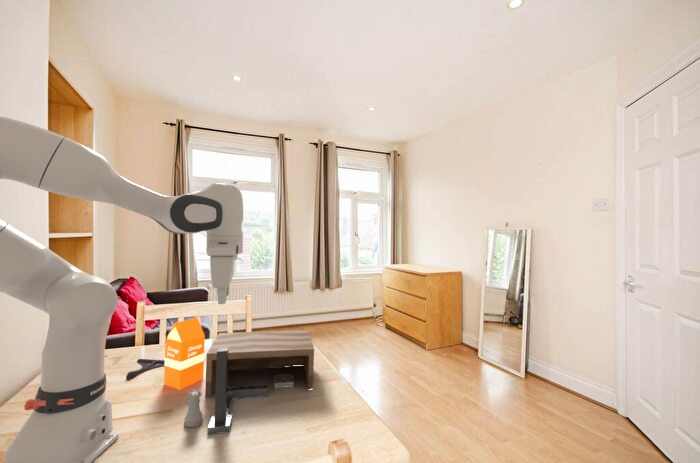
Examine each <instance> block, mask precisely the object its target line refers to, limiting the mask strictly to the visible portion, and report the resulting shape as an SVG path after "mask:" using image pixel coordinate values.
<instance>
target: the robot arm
mask: <svg viewBox="0 0 700 463" xmlns="http://www.w3.org/2000/svg"><path fill="white" fill-rule="evenodd" d="M0 179H3V180H8V181H9V180H10V181H15V182H19V183H21V184H24V185H27V186H31V187H33V188H36V189H40V190H43V191H45V192H47V193H48V192H49V193H52V194H54V195H55V194H56V195H60V196H64V197H67V198H73V199H78V200H84V201H90V202H98V203H99V202H100V203H106V204H110V205H114V206H118V207H121V208H123V209H126V210H129V211H132V212H134V213H137V214H140V215H143V216H145V217H147V218H150V219H152V220H154V222H156V223H157V224H158V225H159V226H161V227H162V228H163V229H164V230H166V231H167V232H169V233H171V234H176V235H183V234H184V235H185V234H188V235H189V234H197V233H200V232H206V250H205V251H206V252H205V253H206V254H207V256H208V257H209V261H210V266H209V267H210V276H211V277H210V279H211V286H212V288H213V289H216V291H217V292H216V293H217V303H218V305H225V304H226V302H227V297H228V296H230V285H231V282H232V280H233V277H234V272H235V271H234V269H235V261H237V260H238V255H239V254H243V252H244V251H243V248H244V247H243V245H244V233H243V229H242V225H243V221H244V199H243V195H242V192H241V190H240V189H238V188H237V187H236V186H233V185H231V184H228V183H222V182H212V183H211V184H210V185H209V186H207V187H204V188H202V189H198V190H196V191H192V192H189V193H184V194H181V195H174V196H169V195H164V194H160V193H158V192H155V191H153V190H150V189H148V188H145V187H144V186H140V185H139V184H137V183H133V182H132V181H130V180H128V179H126V178H125V177H123V176H121V175H120V174H119V173H118V172H117V171H116V170H115V169H114V168H113V167H112V165H111V164H110V163H109V161H108V159H106V158H105V157H104V156H103V155H101V154H99V153H98V152H96V151H94V150H93V149H92V148H89V147H88V146H85V145H83V144H82V143H80V142H78V141H77V140H73V139H71V138H69V137H66V136H65V135H62V134H58V133H56V132H55V131H54V132H53V131H51V130H49V129H46V128H42V127H40V126H36V125H34V124H30V123H28V122H23V121H21V120H18V119H13V118H9V117H6V116H0ZM0 293H3V294H5V295H8V296H10V297H12V298H14V299H16V300H18V301H21V302H23V303H25V304H27V305H29V306H32V307H33V308H36V309H38V310H40V311H42V312H44V313H46V314H48V316H49V320H48V321H49V323H48V324H49V325H48V330H47V335H46V339H45V343H44V347H43V349H42V352H41V366H40V367H41V372H40V385H39V387H38V389H37V392H36V394H35V397H34V398H32V399H31V398H30V399H27V401H25V404H24V407H23V408H24V410H25V411H32V412H31V414H30V415H29V416H28V419H27V420H26V421H25V422H24V424H23V426H22V427H21V428H20V429H19V432H18V433H17V435H16V436H15V437H14V439H13V440H12V442H11V444H10V445H9V447H8V448H7V449H6V452H5V454H4V460H3V463H92V462H93V461H94V460H96V458H98V457H99V456H100V455H101V454H102V453H103V452H104V451H106V450H107V449H108V448H109V447H110V446H111V445H112V444H113V443H115V441H117V440H118V439H119V437H120V436H119V432H118V430H115V429H114V428H113V427H114V426H113V412H112V411H113V410H112V402H111V401H110V400H109V399H108V397H107V396H106V394H105V392H106V389H107V375H106V373H105V356H106V355H105V354H106V350H105V349H106V342H107V335H108V332H109V329H110V324H111V320H112V316H113V315H114V313H115V311H116V309H117V307H118V303H119V296H118V293H117V292H116V289H115V288H114V287H113V285H112V284H111V283H110V282H109V281H108V280H106V279H104V278H102V277H99V276H95V275H92V274H90V273H87V272H85V271H83V270H81V269H80V268H78V267H76V266H75V265H73V264H72V263H70V262H68V261H67V260H66V259H65V258H62V257H61V256H60V255H58V254H57V253H56V252H54V251H52V250H51V249H50V248H48V247H47V246H45V245H44V244H42V243H41V242H39V241H37V240H36V239H34V238H32V237H31V236H29V235H27V234H26V233H24V232H22V231H21V230H19V229H18V228H15V226H12V225H11V224H9V223H8V222H6V221H4V220H3V219H1V218H0Z"/></svg>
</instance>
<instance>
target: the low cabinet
mask: <svg viewBox="0 0 700 463" xmlns="http://www.w3.org/2000/svg"><path fill="white" fill-rule="evenodd" d="M218 348H228V372H229V371H243V370H244V371H246V370H248V371H249V370H261V369H262V368H266V369H272V368H271V367H284V368H286V367H285V366H293V365H304V366H303V368H304V367H305V369H304V373H306V375H305V380H306V379H307V380H306V385H308V386H307V390H308V389H311V388H313V389H314V366H315V365H314V364H315V359H314V358H315V347H314V344H313V340H312V336H311V334H310V330H308V329H305V330H304V329H303V330H278V331H277V330H272V331H271V330H270V331H269V330H268V331H250V332H249V331H246V332H245V331H244V332H243V331H242V332H219V333H218V334H217V336H216V338H215V339H214V341H213V343H211V346H210V347H209V349H208V351H207V352H206V363H205V364H206V365H205V390H204V392H205V393H204V397H205V398H211V397H212V395H213V393H214V391H215V389H216V361H217V350H218ZM262 370H263V369H262Z"/></svg>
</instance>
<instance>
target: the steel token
mask: <svg viewBox="0 0 700 463" xmlns="http://www.w3.org/2000/svg"><path fill="white" fill-rule="evenodd" d="M273 383H274V385H273V386H274V387H284V388H286V387H285V386H293V387H294V374H293V373H289V374H288V373H287V374H275V375H274V382H273ZM274 387H273V388H274Z"/></svg>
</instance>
